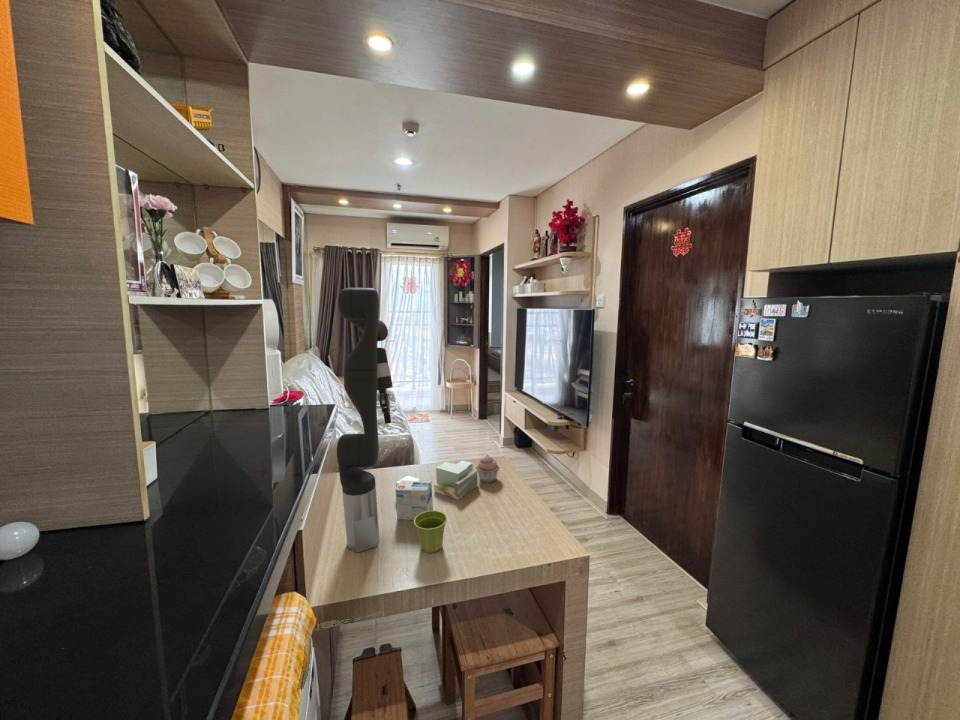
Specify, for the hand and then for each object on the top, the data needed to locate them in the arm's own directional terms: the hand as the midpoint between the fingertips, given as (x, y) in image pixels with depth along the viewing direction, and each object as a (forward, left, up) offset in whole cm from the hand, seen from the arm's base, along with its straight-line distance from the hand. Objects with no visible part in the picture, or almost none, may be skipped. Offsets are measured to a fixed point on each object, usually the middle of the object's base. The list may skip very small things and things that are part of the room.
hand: (388, 423), depth 145 cm
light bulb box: (-22, -2, -25) cm, 34 cm away
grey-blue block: (-5, -27, -25) cm, 38 cm away
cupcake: (-12, -34, -25) cm, 44 cm away
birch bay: (-13, -21, -25) cm, 35 cm away
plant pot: (-40, -1, -25) cm, 48 cm away
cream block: (-10, -3, -25) cm, 27 cm away
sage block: (-11, -20, -25) cm, 34 cm away
